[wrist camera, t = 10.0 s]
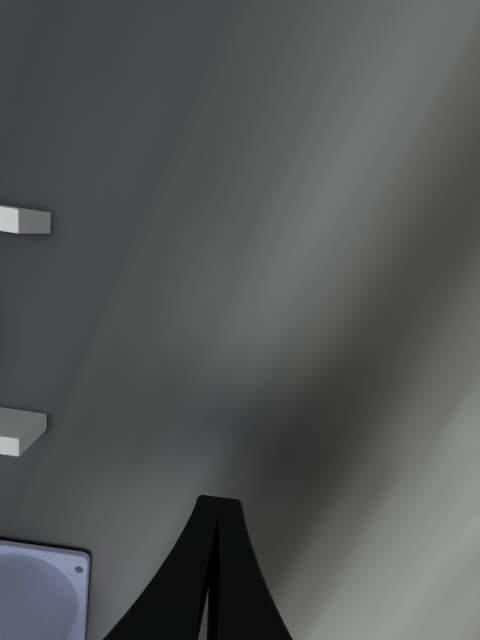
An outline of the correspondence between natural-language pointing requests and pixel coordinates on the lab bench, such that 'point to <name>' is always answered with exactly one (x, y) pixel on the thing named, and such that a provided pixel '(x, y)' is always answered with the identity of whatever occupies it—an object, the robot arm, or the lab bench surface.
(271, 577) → the lab bench surface
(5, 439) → the display stand
